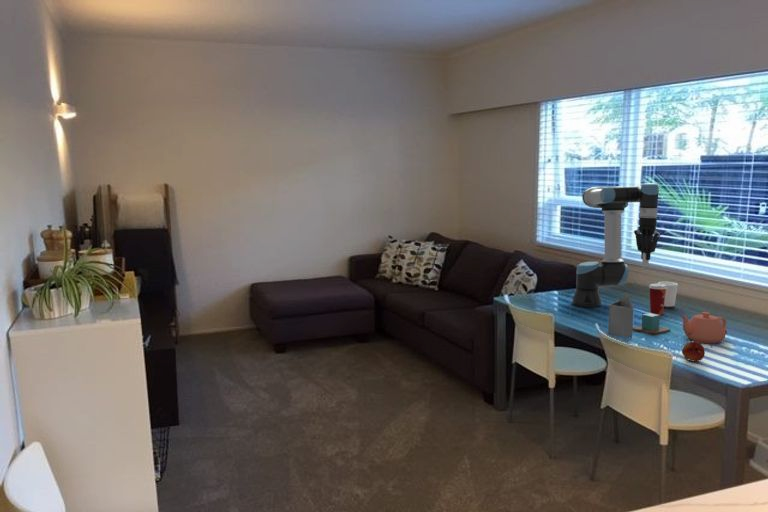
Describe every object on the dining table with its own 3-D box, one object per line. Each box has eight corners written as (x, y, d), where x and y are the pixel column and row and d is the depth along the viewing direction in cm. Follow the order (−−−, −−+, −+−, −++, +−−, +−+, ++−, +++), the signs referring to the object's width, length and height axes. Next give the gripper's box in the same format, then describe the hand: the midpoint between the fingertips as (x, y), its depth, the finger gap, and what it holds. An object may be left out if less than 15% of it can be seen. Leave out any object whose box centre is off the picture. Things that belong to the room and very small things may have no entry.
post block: (630, 329, 279) (631, 317, 278) (647, 325, 285) (647, 313, 284) (653, 335, 269) (654, 322, 268) (670, 331, 275) (670, 318, 274)
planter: (602, 328, 282) (603, 288, 280) (619, 328, 282) (621, 288, 279) (614, 338, 266) (616, 296, 263) (632, 338, 266) (634, 295, 263)
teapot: (689, 346, 252) (691, 318, 250) (668, 336, 267) (669, 309, 265) (738, 344, 254) (740, 315, 252) (714, 334, 269) (715, 307, 267)
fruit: (682, 363, 232) (683, 343, 231) (680, 357, 239) (681, 337, 238) (705, 365, 229) (706, 345, 228) (702, 358, 237) (703, 339, 235)
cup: (671, 309, 314) (673, 286, 312) (653, 306, 321) (654, 283, 319) (679, 306, 320) (681, 283, 318) (661, 303, 328) (662, 280, 326)
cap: (641, 328, 277) (642, 314, 276) (648, 326, 280) (649, 312, 279) (651, 330, 273) (652, 316, 272) (658, 328, 276) (659, 315, 275)
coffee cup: (667, 315, 302) (668, 286, 300) (649, 315, 304) (651, 286, 302) (663, 311, 310) (664, 283, 308) (646, 311, 312) (647, 283, 310)
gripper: (630, 216, 281) (628, 265, 285) (655, 218, 270) (652, 269, 274) (641, 214, 285) (638, 263, 289) (665, 217, 274) (662, 267, 278)
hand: (645, 266), depth 282 cm, fingers closed
